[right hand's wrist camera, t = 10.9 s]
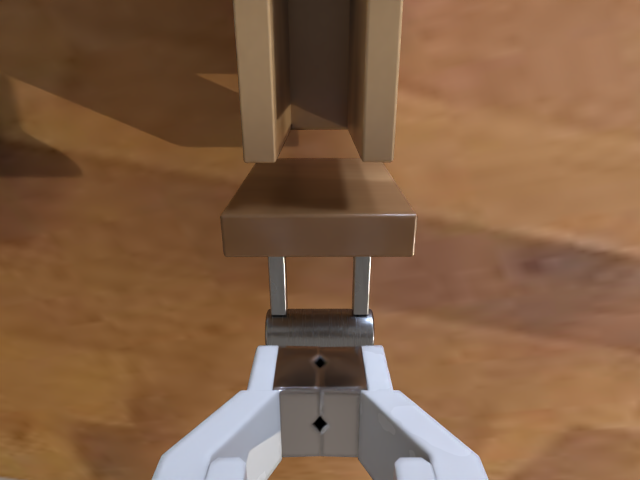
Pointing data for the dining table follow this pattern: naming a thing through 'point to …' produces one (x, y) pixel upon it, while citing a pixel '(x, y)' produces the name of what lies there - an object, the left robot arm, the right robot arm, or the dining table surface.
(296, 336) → the drawer
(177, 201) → the dining table surface
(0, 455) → the dining table surface
